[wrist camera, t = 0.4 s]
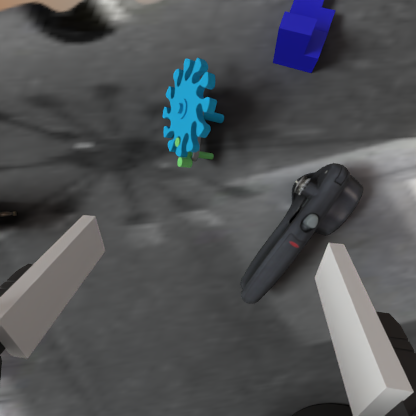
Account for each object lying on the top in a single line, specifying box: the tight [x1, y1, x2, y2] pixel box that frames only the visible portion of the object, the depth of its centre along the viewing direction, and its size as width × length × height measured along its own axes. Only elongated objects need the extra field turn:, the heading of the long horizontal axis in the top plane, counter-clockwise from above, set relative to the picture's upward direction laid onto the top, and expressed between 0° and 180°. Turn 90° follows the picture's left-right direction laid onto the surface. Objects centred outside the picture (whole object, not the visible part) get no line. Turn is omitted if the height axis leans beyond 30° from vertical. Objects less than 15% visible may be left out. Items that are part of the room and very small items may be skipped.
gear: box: [163, 58, 224, 168], centre depth 27 cm, size 11×6×10 cm
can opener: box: [241, 163, 363, 304], centre depth 26 cm, size 18×7×6 cm, turn 143°
